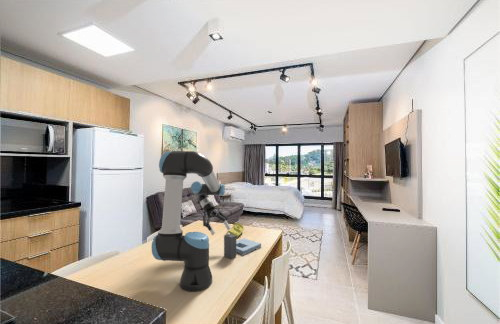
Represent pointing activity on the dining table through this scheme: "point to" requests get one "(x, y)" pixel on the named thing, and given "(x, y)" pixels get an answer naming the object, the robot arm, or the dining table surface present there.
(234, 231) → the plastic component
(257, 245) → the plate
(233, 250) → the servo block
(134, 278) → the dining table surface
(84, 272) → the dining table surface
